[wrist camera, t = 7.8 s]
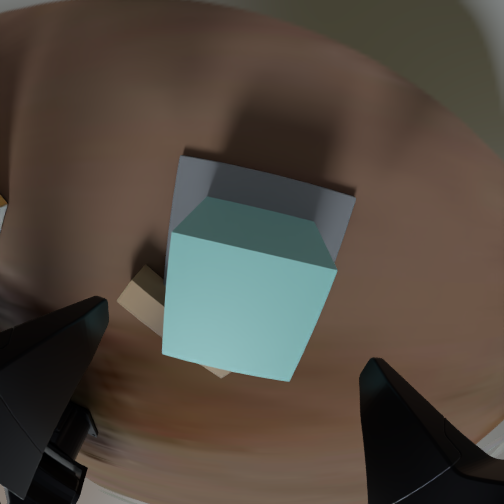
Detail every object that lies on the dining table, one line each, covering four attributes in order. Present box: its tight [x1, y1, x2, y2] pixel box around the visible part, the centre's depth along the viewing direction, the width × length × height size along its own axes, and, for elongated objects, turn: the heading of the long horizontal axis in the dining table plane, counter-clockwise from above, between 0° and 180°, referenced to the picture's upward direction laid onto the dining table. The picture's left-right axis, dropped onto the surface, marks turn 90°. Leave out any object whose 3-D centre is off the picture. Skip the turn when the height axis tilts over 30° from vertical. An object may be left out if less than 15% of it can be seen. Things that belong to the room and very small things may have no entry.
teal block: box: [162, 196, 337, 382], centre depth 13 cm, size 6×6×6 cm
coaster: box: [163, 155, 356, 286], centre depth 15 cm, size 9×9×1 cm
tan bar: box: [117, 264, 232, 378], centre depth 16 cm, size 8×2×2 cm, turn 47°
